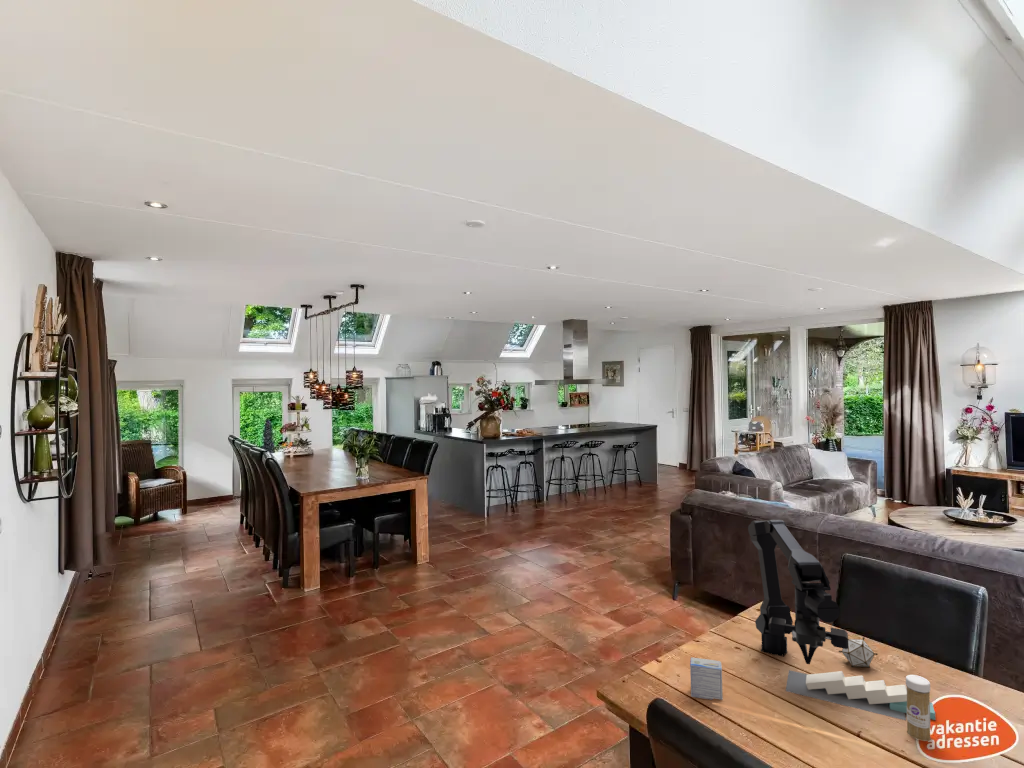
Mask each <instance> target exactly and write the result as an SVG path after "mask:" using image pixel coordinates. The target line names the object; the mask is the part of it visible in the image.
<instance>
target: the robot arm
mask: <svg viewBox="0 0 1024 768" xmlns="http://www.w3.org/2000/svg"><path fill="white" fill-rule="evenodd" d="M747 531H748V534H749V536H750V537H749V538H750V541H751V542H752V544H753V545H754V547H755V548H756V550H757V554H758V560H759V567H760V574H761V582H762V590H763V591H762V592H763V597H764V598H763V600H762V602H761V605H760V607H759V612H760V614H759V615H758V617H756V619H755V621H754V622H755V628H756V629H757V630H758V631H759V633H760V635H761V649H760V652H762V653H765V654H769V655H774V656H779V657H785V655H787V653H788V637H787V636H786V635H791V640H792V641H793V642H796V644H797V645H798V646H799V648H800V651H801V653H802V655H803V659H804V661H805V664H807V665H810V664H811V661H812V660H813V658H814V657H813V656H814V654H815V652H816V650H817V649H818V648H819V647H821V648H822V647H824V643H825V642H826V641H827V640H828V641H830V644H831V645H832V646H833V647H834V648H840V649H843V648H844V649H848V639H849V634H848V632H847V630H845V629H841V628H836V627H830V631H826V627H825V626H821V625H820V620H821V621H822V622H824V623H833V622H835V621H836V620H837V619H838V618H839V617H840V614H841V609H840V607H839V605H838V603H837V602H836V601H835V600H833V598H832V597H833V596H832V594H830V593H828V592H827V591H831V585H830V584H831V582H830V580H829V577H828V576H827V574H826V572H825V569H824V566H823V565H822V564H821V562H820V561H819V560H818V558H816V557H815V556H814V555H813V554H811V553H809V552H807V551H805V550H804V549H803V548H802V547H801V545H800V544H799V542H798V541H797V540H796V539H795V537H794V536H793V534H792V533H791V532H790V530H789V529H788V527H787V523H786V522H785V521H784V520H783V519H767V520H752V521H751V522H750V523H749V524H748V526H747ZM777 546H778V547H779V550H781V552H782V554H783V555H784V556H785V558H786V560H787V561H788V565H787V569H788V571H789V574H790V576H791V578H792V580H791V584H792V585H794V612H795V613H794V616H795V620H794V622H793V618H792V615H791V614H792V613H791V608H790V606H789V605H787V604H786V602H784V600H783V598H782V592H781V586H780V577H779V570H778V564H777V556H776V548H777ZM793 623H794V625H793ZM808 646H809V647H808ZM807 647H808V648H807Z"/></svg>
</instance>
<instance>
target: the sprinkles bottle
mask: <svg viewBox="0 0 1024 768" xmlns="http://www.w3.org/2000/svg"><path fill="white" fill-rule="evenodd" d="M905 686H906V688H907V713H906V724H907V726H906V733H907V735H909V736H910V737H911V738H913V739H915V740H918V741H922V742H928V741H931V739H932V738H931V719H930V703H931V702H930V701H931V700H930V693H931V682H930V681H929V680H928V679H927V678H925V677H923V676H920V675H917V674H908V675H906V676H905Z"/></svg>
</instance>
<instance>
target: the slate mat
mask: <svg viewBox="0 0 1024 768" xmlns="http://www.w3.org/2000/svg"><path fill="white" fill-rule="evenodd" d="M807 675H809V674H807V673H804V672H799V671H794V670H790V669H789V670H788V673H787V681H786V684H785V685H786V686H785V692H788V693H792V694H796V695H799V696H804V697H808V698H813V699H815V700H821V701H826V702H830V703H834V704H837V705H841V706H845V707H849V708H854V709H856V710H857V709H858V710H861V711H865V712H870V713H873V714H877V715H882V716H886V717H891V718H894V719H899V720H902V721H907V717H906V713H904V712H900V711H896V710H891V709H890V706H889V703H880V704H869V702H868V700H867V698H858V699H848V697H847V694H846V693H839V694H828V693H827V691H826V688H821V689H811V690H808V688H807V685H806V676H807Z"/></svg>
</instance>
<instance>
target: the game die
mask: <svg viewBox="0 0 1024 768" xmlns="http://www.w3.org/2000/svg"><path fill="white" fill-rule="evenodd" d="M865 639H866V638H865V637H864V636H863V637H862V638H861V639H858V638H848V649H844V648H841V649H842V650H838V653H842V655H843V656H844V657H845V659H846V660H847V661H848V662H849V663H850V665H851V666H850V667H852V668H853V667H865V668H871V666H870V665H871V663H872V661H873V659H874V657H875V656H878V655H879V653H877V652H874V651H873V649H872V648H871V647H870V646H869V645H868V644H867V642H866V641H865Z"/></svg>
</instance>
